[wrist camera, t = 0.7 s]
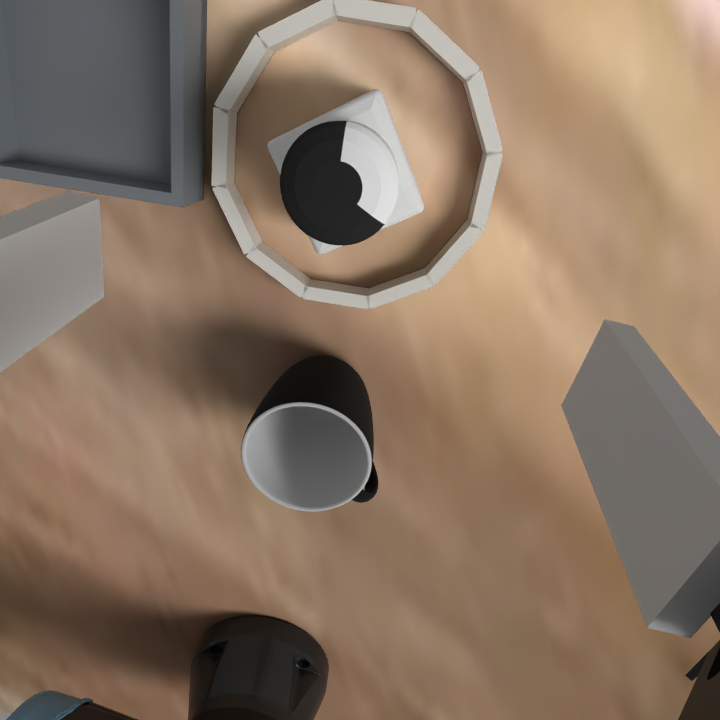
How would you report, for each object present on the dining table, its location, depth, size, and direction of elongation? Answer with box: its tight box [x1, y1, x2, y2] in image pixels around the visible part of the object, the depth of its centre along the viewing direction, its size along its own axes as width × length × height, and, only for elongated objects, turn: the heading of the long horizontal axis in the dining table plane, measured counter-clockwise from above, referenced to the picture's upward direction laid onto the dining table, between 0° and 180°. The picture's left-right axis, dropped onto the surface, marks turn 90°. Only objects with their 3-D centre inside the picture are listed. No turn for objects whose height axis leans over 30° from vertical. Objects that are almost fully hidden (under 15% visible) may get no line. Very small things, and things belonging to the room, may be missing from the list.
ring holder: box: [211, 0, 503, 309], centre depth 36 cm, size 19×19×2 cm
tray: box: [0, 0, 207, 207], centre depth 34 cm, size 14×14×4 cm
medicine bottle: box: [267, 89, 424, 254], centre depth 31 cm, size 7×7×12 cm
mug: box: [241, 356, 378, 511], centre depth 40 cm, size 12×9×10 cm
